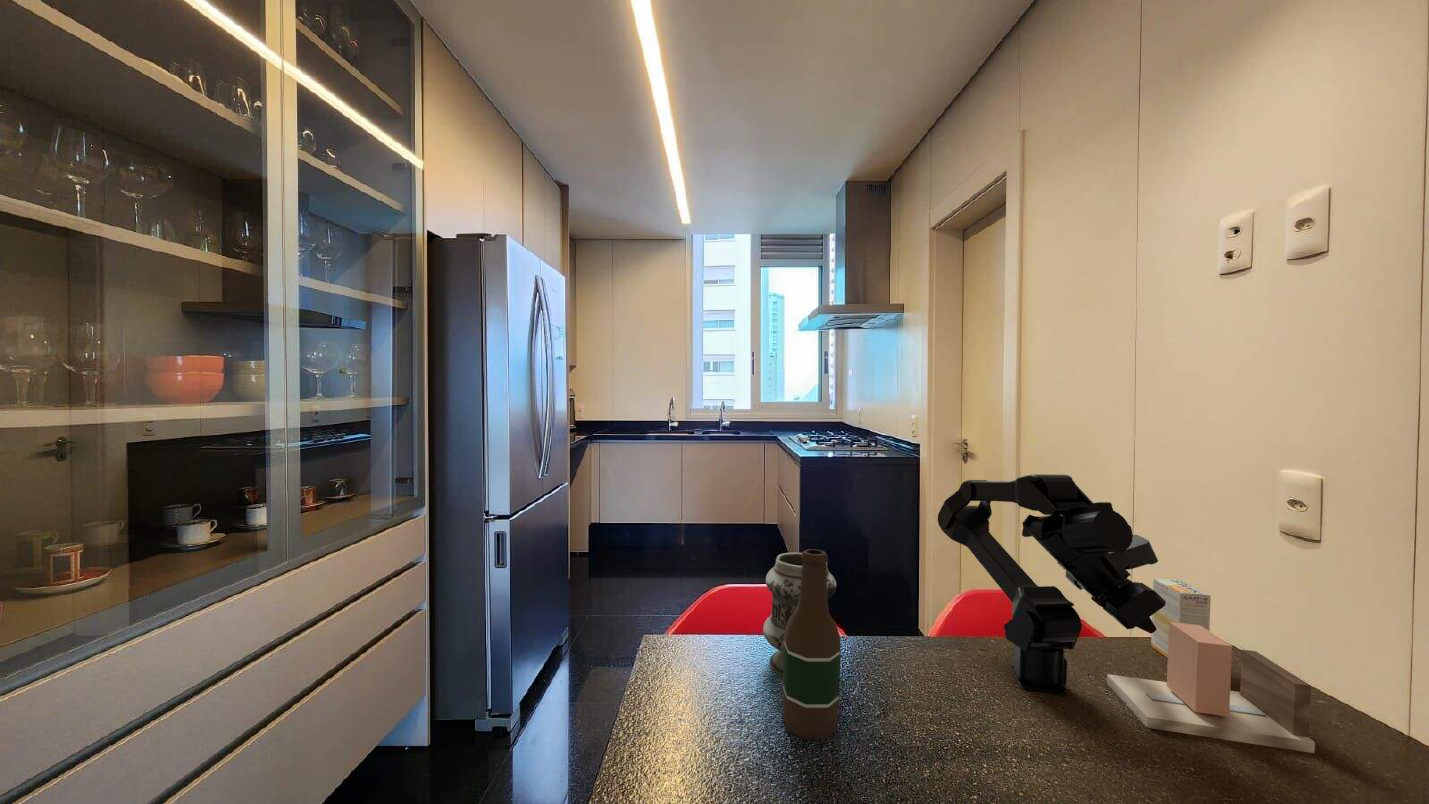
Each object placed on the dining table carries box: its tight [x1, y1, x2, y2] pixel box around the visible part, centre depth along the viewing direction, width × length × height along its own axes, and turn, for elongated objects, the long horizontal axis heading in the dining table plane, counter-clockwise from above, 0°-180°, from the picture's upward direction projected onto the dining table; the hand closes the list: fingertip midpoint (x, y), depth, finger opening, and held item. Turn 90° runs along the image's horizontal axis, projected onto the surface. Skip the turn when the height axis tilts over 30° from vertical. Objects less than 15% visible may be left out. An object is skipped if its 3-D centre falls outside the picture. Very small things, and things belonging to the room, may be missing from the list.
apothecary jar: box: [762, 552, 837, 677], centre depth 90 cm, size 12×12×18 cm
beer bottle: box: [781, 548, 842, 741], centre depth 74 cm, size 8×8×24 cm
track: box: [1106, 649, 1316, 754], centre depth 79 cm, size 19×12×8 cm, turn 76°
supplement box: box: [1150, 578, 1212, 659], centre depth 96 cm, size 8×5×13 cm, turn 168°
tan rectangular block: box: [1166, 622, 1233, 717], centre depth 79 cm, size 4×7×10 cm, turn 166°
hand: (1152, 630), depth 80 cm, fingers closed
